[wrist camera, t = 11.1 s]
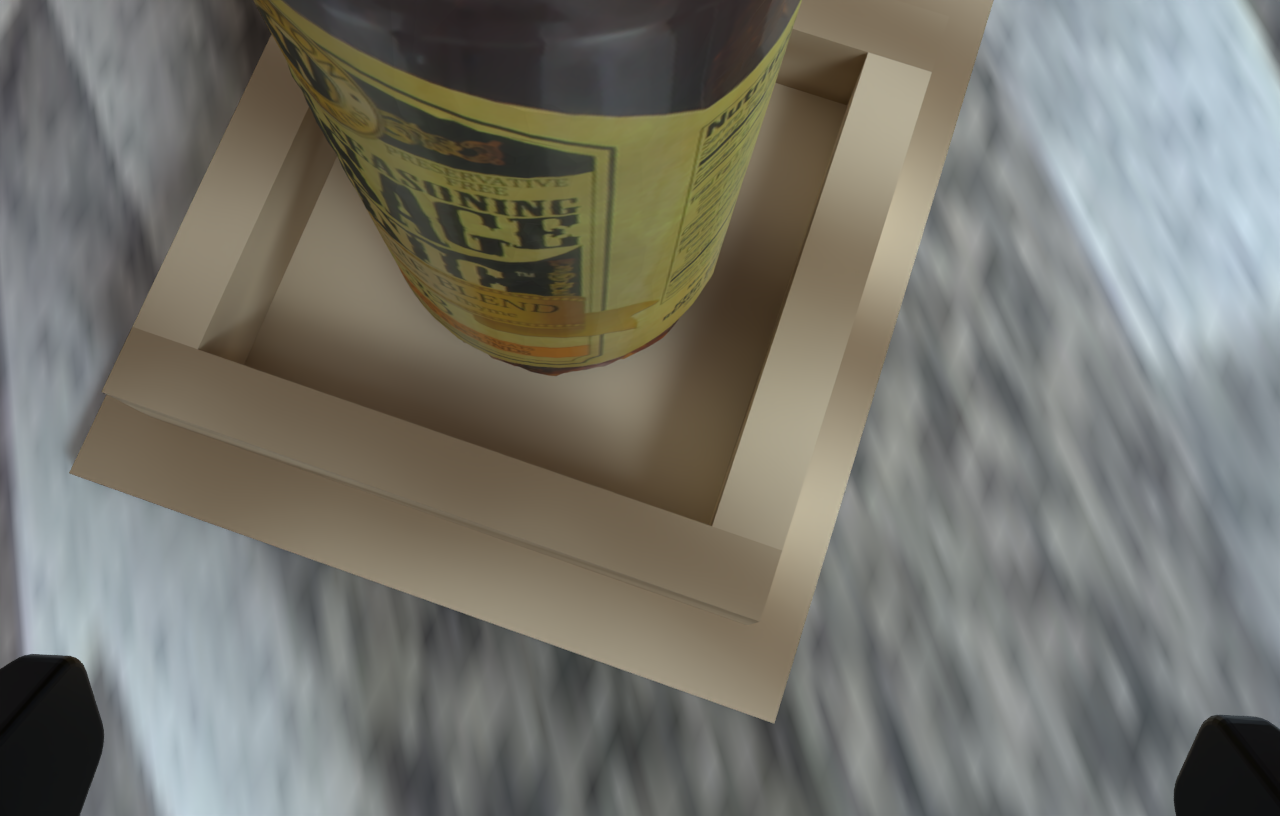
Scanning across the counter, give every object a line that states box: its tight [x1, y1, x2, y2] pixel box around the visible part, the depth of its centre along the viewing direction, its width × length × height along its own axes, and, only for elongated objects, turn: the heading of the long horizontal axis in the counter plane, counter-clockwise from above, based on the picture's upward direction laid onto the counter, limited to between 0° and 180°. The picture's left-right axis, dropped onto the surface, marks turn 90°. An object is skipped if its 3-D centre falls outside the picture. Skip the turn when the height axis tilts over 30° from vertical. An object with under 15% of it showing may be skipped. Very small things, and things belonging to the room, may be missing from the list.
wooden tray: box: [69, 0, 993, 723], centre depth 21 cm, size 17×14×2 cm
